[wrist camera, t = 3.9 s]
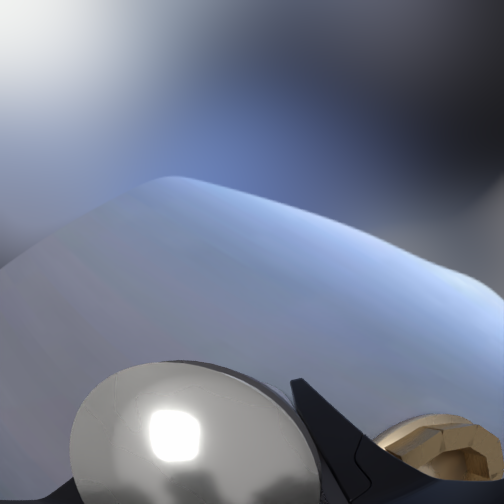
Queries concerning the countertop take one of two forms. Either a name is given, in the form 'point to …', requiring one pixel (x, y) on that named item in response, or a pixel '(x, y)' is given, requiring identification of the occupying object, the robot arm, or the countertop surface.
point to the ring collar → (445, 447)
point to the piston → (191, 440)
